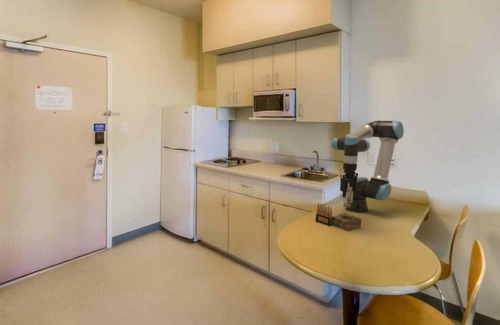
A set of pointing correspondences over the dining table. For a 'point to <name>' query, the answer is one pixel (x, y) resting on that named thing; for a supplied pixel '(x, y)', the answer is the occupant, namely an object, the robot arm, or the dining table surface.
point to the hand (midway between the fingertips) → (347, 202)
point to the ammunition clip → (324, 215)
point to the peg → (348, 197)
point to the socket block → (346, 222)
